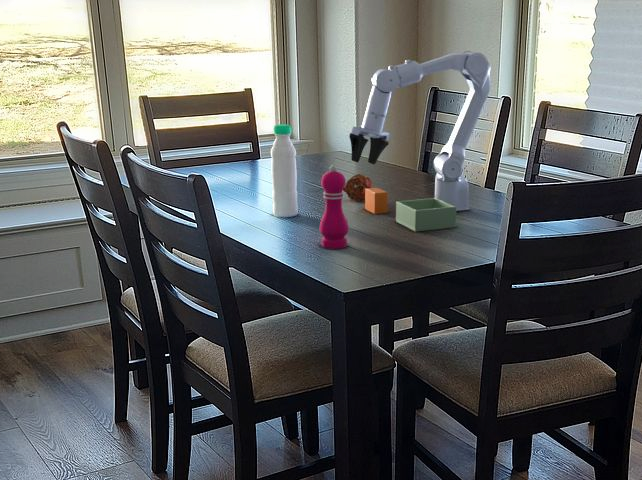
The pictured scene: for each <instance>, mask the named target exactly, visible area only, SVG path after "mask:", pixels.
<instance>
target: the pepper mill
mask: <svg viewBox="0 0 642 480" xmlns="http://www.w3.org/2000/svg"><path fill="white" fill-rule="evenodd" d="M337 170H338V166H337V165H336V164H331V165H330V166H329V171H327V172H325V173H324V174H323V175H322V177H321V181H320V184H321V187H322V189H323V190H324V191H323V192H322V193H323V199H324V200H325V210H324V213H323V215H322V218H321V220H320V223H319V233H320V234H321V236H323V237H322V238H321V247H322V248H325V249H330V250H338V249H339V250H340V249H344V248H346V247H347V246H348V240H347V237H346V235H347V234H348V233H349V230H350V229H349V223H348V219H347V218H346V216H345V213H344V211H343V199H344V197H345V196H344V194H345V192H344V191H343V189H344V188H345V185H346V183H347V181H346V177H345V175H344V174H343V173H342V172H340V171H337Z"/></svg>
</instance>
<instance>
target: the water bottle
mask: <svg viewBox="0 0 642 480" xmlns="http://www.w3.org/2000/svg"><path fill="white" fill-rule="evenodd" d="M273 133H274V136H275V139H274V141H273V143H272V144H273V145H272V147H271V149H270V156H271V165H270V169H271V185H272V193H271V194H272V196H271V197H272V214H273V215H274V216H275V217H277V218H291V217H295V216H297V215H298V214H299V205H298V190H297V187H298V186H297V185H298V171H297V159H296V156H297V150H296V147H295V146H294V144H293V141H292V140H291V135H292V126H291V125H290V124H287V123H286V124H275V125H274V126H273Z"/></svg>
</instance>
